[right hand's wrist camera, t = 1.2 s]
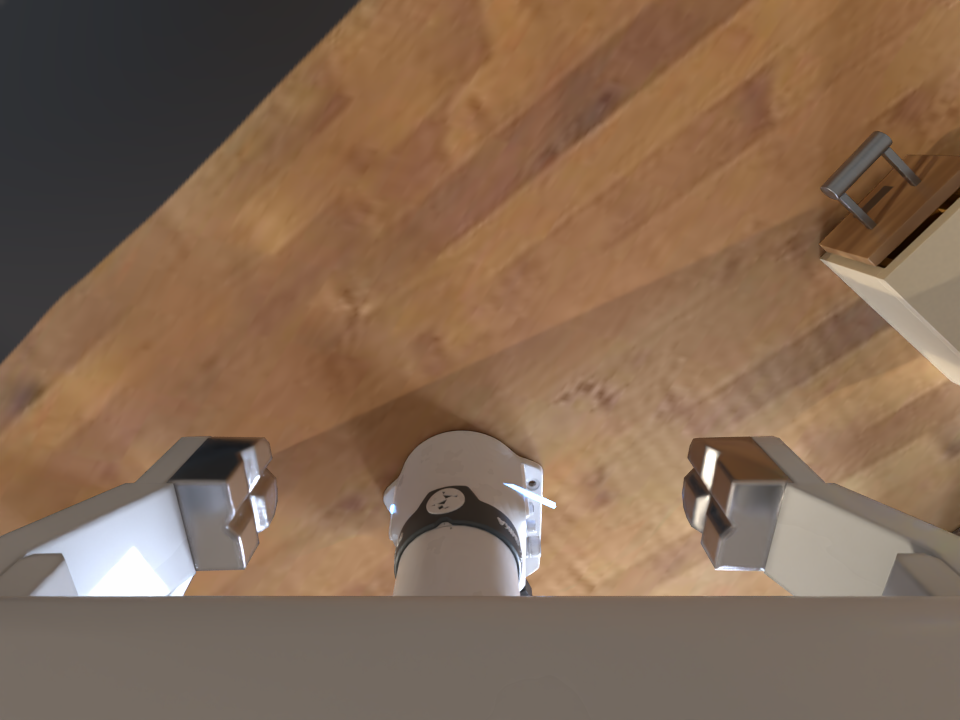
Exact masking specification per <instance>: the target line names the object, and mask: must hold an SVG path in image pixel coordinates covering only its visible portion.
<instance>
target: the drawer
mask: <svg viewBox="0 0 960 720" xmlns="http://www.w3.org/2000/svg"><path fill="white" fill-rule="evenodd" d="M891 145H892V140H891V138H890V137H889V136H887V135H886V134H884V133H882V132H879V131H875V132H873V133H872V134H871V135H870V136H869V137H868V138H867V139H866V140H865V141H864V142H863V143H862V145H861V146H860V147H859V148H858V149H857V150H856V151H855V152H854V153H853V154H852V155H851V156H850V157H849V158H848V159H847V160H846V161H845V162H844V163H843V164H842V165H841V166H840V168H839V169H838V170H837V171H836V172H835V173H834V174H833V175H832V176H831V177H830V178H829V179H828V180H827V181H826V182H825V183H824V184H823V185H822V186H821V188H820V189H821V191H822V192H823V193H824V194H825V195H827V196H828V197H830V198H832V199H835V200H838V201H840V202H841V203H842V204H843V205H844V206H845V207H846V208H847V209H848V210H849V211H850V213H849V214H848V215H847V216H846V217H845V218H844V219H843V220H842V221H841V222H840V223H839V224H838V225H837V226H836V227H835V228H834V229H833V230H832V231H831V232H830V233H829V234H828V235H827V236H826V237H825V238H824V239H823V240H822V241H821V242H820V243H819V245H820V246H821V247H822V248H823V249H824V250H825V251H826V252H829V253H833V254H836V255H839V256H842V257H846V258H849V259H852V260H855V261H859V262H862V263H865V264H869V265H872V266H875V267H876V266H879V267H882V268H886V267H887V266H888V265H889V264H890V263H891V262H892V261H893V260H894V259H895V258H896V257H897V256H898V255H899V254H901V253H902V252H903V251H904V250H905V249H906V248H907V247H908V246H909V245H910V244H911V243H912V242H913V241H914V240H915V239H916V238H917V237H918V236H920V235H921V234H922V233H923V232H924V231H925V230H926V229H927V228H928V227H929V226H930V225H931V224H932V223H933V222H934V221H935V220H936V219H938V218H939V217H940V216H941V215H942V214H943V213H944V212H945V211H946V210H947V209H948V208H949V207H950V206H951V205H952V204H953V203H954V202H955V201H957V200H958V199H959V198H960V156H936V155H907V156H906V157H905V158H904V159H903V160H901V158H900V157H899V156H898V155H897V154H896V153H895V152H894V151H893V150H892V149H891V148H890V146H891ZM881 155H882V156H883V157H884V158H885V159H886V160H887V161H888V162H889V164H890V165H891V166H892V167H893V168H894V169H893V170H892V171H891V172H890V173H889V174H888V175H887V176H886V177H885V178H884V179H883V180H882V181H881V182H880V183H879V184H878V185H877V186H876V187H875V188H874V189H873V190H872V191H871V192H870V193H869V194H868V195H867V196H866V197H865V198H864V199H863V200H862V201H861V202H860V203H859V204H858V205H857V204H856V203H855V202H854V201H853V200H852V199H851V198H850V197H849V196H848V195H847V194H846V193H845V192H846V191H847V190H848V189H849V188H850V187H851V186H852V185H853V183H854V182H855V181H856V180H857V179H858V178H859V177H860V176H861V175H862V174H863V173H864V172H865V171H866V170H867V169H868V168H869V167H870V166H871V165H872V164H873V163H874V162H875V161H876V160H877V159H878V158H879V157H880V156H881Z"/></svg>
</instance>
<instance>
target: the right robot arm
mask: <svg viewBox="0 0 960 720" xmlns="http://www.w3.org/2000/svg"><path fill="white" fill-rule="evenodd" d="M271 459H272V453H271V448H270V443H269V442H268V441H267V440H266V438H264V437H211V436H191V437H182V438H181V439H180V440H179V441H178V442H176V443H175V444H174V445H173V446H172V447H171V448H170V449H169V450H168V451H167V452H166V453H165V454H164V455H163V456H162V457H161V458H160V459H159V460H158V461H157V462H156V463H155V464H154V465H153V466H152V467H151V468H150V469H148V470H147V471H146V472H145V473H144V474H143V475H142V476H141V477H140V478H139V479H138V480H137V481H136V482H135V483H125V484H123V485H120V486H118V487H116V488H113V489H111V490H108V491H106V492H104V493H101V494H99V495H97V496H94V497H92V498H90V499H87V500H85V501H83V502H80V503H78V504H75V505H73V506H71V507H68V508H66V509H64V510H61V511H59V512H57V513H54V514H52V515H50V516H47V517H45V518H42V519H40V520H38V521H35V522H33V523H31V524H28V525H26V526H24V527H21V528H19V529H16V530H14V531H12V532H9V533H7V534H5V535H2V536H0V720H960V536H957V535H955V534H953V533H950V532H948V531H946V530H943V529H941V528H939V527H936V526H934V525H931V524H929V523H927V522H924V521H922V520H920V519H917V518H915V517H913V516H910V515H908V514H906V513H903V512H901V511H899V510H896V509H894V508H891V507H889V506H887V505H884V504H882V503H880V502H877V501H875V500H873V499H870V498H868V497H866V496H863V495H861V494H859V493H856V492H854V491H851V490H849V489H847V488H844V487H842V486H840V485H837V484H835V483H825V482H824V481H823V480H822V479H821V478H820V477H819V476H818V475H817V474H816V473H815V472H814V471H813V470H812V469H811V468H810V467H808V466H807V465H806V464H805V463H804V462H803V461H802V460H801V459H800V458H799V457H798V456H797V455H796V454H795V453H794V452H793V451H792V450H791V449H790V448H789V447H788V446H787V445H786V444H785V443H784V442H783V441H782V440H781V439H780V438H777V437H774V436H758V437H715V438H694V439H693V440H692V442H691V444H690V447H689V452H688V459H689V461H690V462H691V464H692V466H693V467H694V468H693V469H692V470H691V471H690V472H689V473H688V474H687V475H686V476H685V477H684V482H683V490H682V497H683V507H684V511H685V514H686V517H687V519H688V521H689V523H690V525H691V527H693V528H694V529H696V530H698V531H699V532H701V533H702V538H701V545H702V547H703V548H704V550H705V552H706V554H707V555H708V557H709V559H710V561H711V562H712V564H713V566H714V568H715V569H716V570H748V571H764V573H765V574H766V575H767V576H769V577H770V578H771V579H772V580H774V581H775V582H776V583H778V584H779V585H780V586H782V587H783V588H784V589H786V590H787V591H788V592H789V593H791V594H792V595H793V596H532V589H531V587H530V585H529V583H528V581H527V579H526V576H528V575H530V574H531V573H533V572H534V571H536V570H537V569H538V567H539V563H540V557H541V544H540V539H541V512H542V503H543V504H545V505H547V506H550V507H552V508H555V507H556V505H555V503H554V502H552V501H550V500H547V499H545V498H543V497H542V485H543V469H542V467H541V466H540V465H539V464H538V463H536V462H534V461H531V460H529V459H526V458H523V457H520V456H518V455H516V454H515V453H514V452H513V451H511V450H510V449H509V448H508V447H507V446H506V445H504V444H503V443H502V442H500V441H499V440H497V439H495V438H493V437H491V436H488V435H486V434H482V433H479V432H473V431H450V432H445V433H441V434H438V435H436V436H433V437H431V438H429V439H427V440H426V441H424V442H422V443H421V444H420V445H419V446H417V447H416V448H415V449H414V450H413V451H412V453H411V454H410V455H409V457H408V458H407V460H406V462H405V464H404V466H403V469H402V471H401V473H400V475H399V477H398V478H397V479H396V480H395V481H394V482H393V483H392V484H391V485H390V486H389V487H388V488H387V489H386V490H385V492H384V498H383V501H384V504H385V505H386V507H387V509H388V511H389V512H390V514H391V519H390V526H389V539H390V540H393V542H394V544H395V546H396V550H395V556H394V557H395V559H394V563H395V564H394V573H395V579H396V581H395V586H394V591H393V596H167V595H168V594H169V593H171V592H172V591H173V590H175V589H176V588H177V587H179V586H180V585H181V584H183V583H184V582H185V581H186V580H188V579H189V578H190V577H192V576H193V575H194V574H196V571H211V570H245V568H246V566H247V564H248V563H249V561H250V559H251V557H252V555H253V554H254V552H255V550H256V548H257V547H258V545H259V538H258V533H259V532H261V531H262V530H264V529H266V528H267V527H269V525H270V523H271V521H272V519H273V517H274V514H275V510H276V506H277V501H278V488H277V482H276V477H275V476H274V475H273V474H272V473H271V472H270V471H269V470H268V469H267V468H266V467H267V466H268V464H269V462H270V461H271ZM532 480H533V481H535V482H534V483H529V482H530V481H532Z"/></svg>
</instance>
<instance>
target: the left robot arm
mask: <svg viewBox="0 0 960 720" xmlns="http://www.w3.org/2000/svg"><path fill="white" fill-rule="evenodd" d="M953 534H955V535H957V536H960V528H958V529H957V530H955V531H954V532H953Z"/></svg>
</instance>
